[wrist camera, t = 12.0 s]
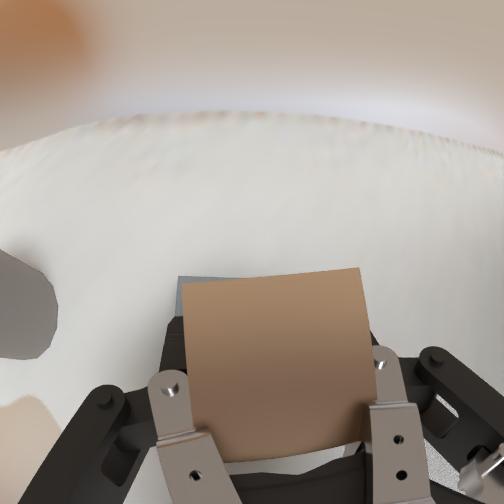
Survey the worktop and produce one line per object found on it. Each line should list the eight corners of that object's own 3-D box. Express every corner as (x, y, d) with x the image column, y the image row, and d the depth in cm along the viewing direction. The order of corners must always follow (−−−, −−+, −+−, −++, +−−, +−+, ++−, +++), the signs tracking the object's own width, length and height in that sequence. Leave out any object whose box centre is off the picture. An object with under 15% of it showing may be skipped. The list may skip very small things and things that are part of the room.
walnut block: (213, 323, 15) (181, 283, 7) (296, 315, 16) (359, 267, 7) (221, 404, 14) (198, 463, 5) (305, 395, 14) (379, 434, 6)
